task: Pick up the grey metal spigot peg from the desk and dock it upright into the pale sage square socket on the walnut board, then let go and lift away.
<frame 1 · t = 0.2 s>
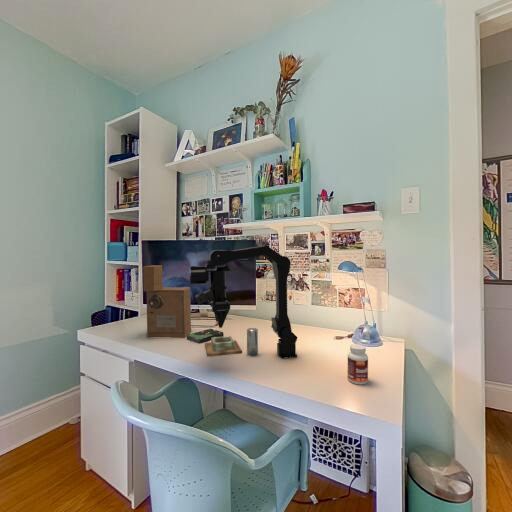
hand: (219, 324, 107), 14 cm above the table, tool pointing down, fingers open, 9 cm apart
disk drive: (205, 339, 137), on the table
pill bottle: (357, 381, 91), on the table
spigot peg: (252, 353, 115), on the table
dock board: (222, 349, 122), on the table
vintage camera: (167, 335, 143), on the table
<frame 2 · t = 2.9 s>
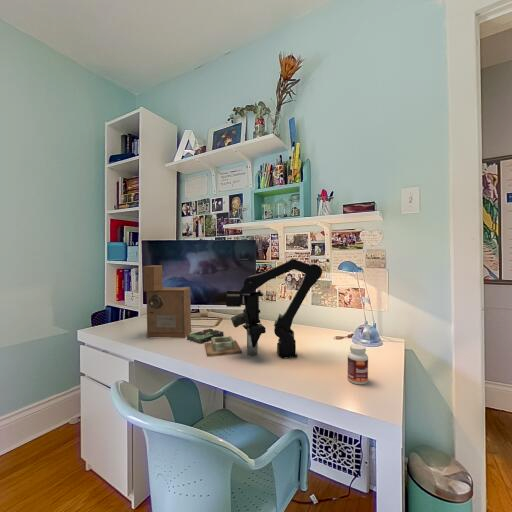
hand: (252, 345, 115), 4 cm above the table, tool pointing down, fingers closed on spigot peg, 4 cm apart
spigot peg: (252, 353, 115), on the table, touching gripper
everything else where it was.
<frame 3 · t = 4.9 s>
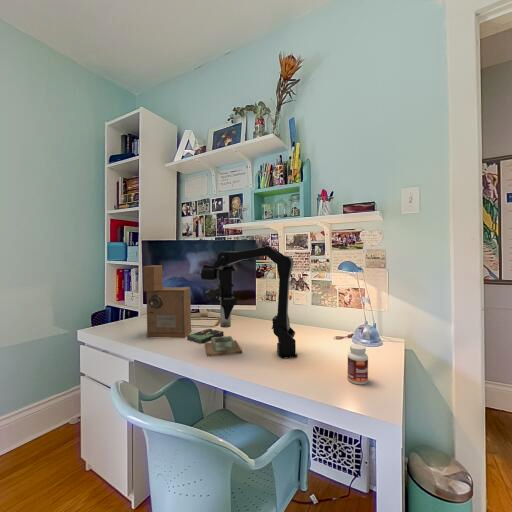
hand: (225, 317, 120), 14 cm above the table, tool pointing down, fingers closed on spigot peg, 4 cm apart
spigot peg: (225, 326, 120), point 10 cm above the table, touching gripper
everything else where it was.
when the fingers open (6 cm above the table, at t = 7.1 s): spigot peg drops 1 cm, resting on dock board.
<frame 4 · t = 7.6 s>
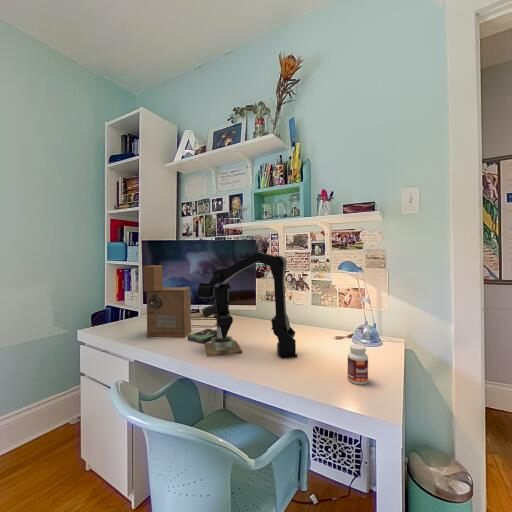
hand: (222, 335, 121), 6 cm above the table, tool pointing down, fingers open, 9 cm apart
spigot peg: (222, 346, 122), point 1 cm above the table, touching dock board
everything else where it was.
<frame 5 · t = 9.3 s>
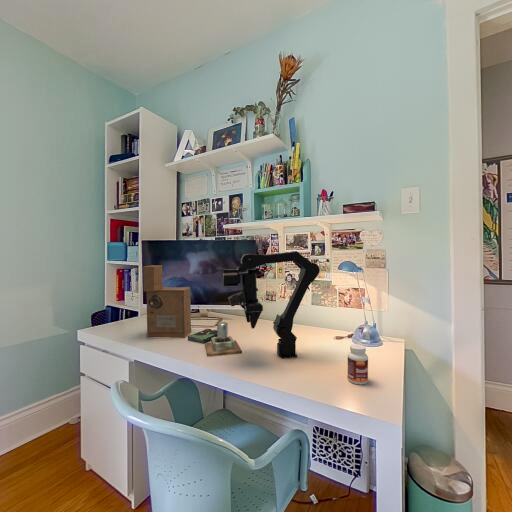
hand: (250, 325, 112), 13 cm above the table, tool pointing down, fingers open, 9 cm apart
nothing on the table moved.
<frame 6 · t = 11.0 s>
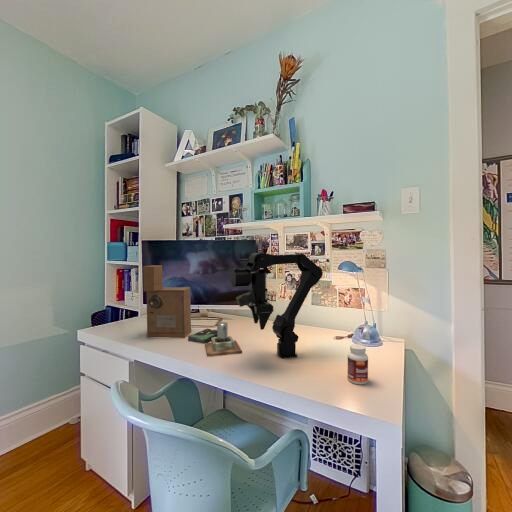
hand: (258, 326, 109), 13 cm above the table, tool pointing down, fingers open, 9 cm apart
nothing on the table moved.
at the end: spigot peg 0.0 cm off-centre on the dock board, point 1.0 cm above the dock board's base; spigot peg tilted 1°; the gripper is holding nothing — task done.
